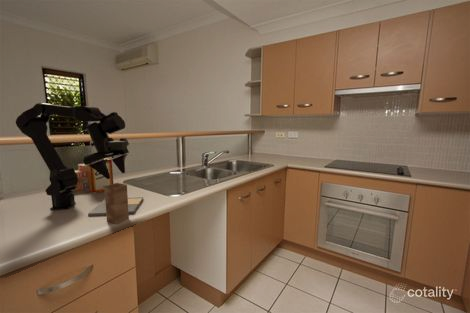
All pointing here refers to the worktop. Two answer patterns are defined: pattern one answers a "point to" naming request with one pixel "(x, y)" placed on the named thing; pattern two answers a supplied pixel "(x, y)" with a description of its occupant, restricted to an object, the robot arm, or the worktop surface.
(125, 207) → the walnut post
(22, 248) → the worktop surface
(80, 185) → the orange red carton
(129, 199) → the baseplate
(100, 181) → the baking soda box
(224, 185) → the worktop surface
